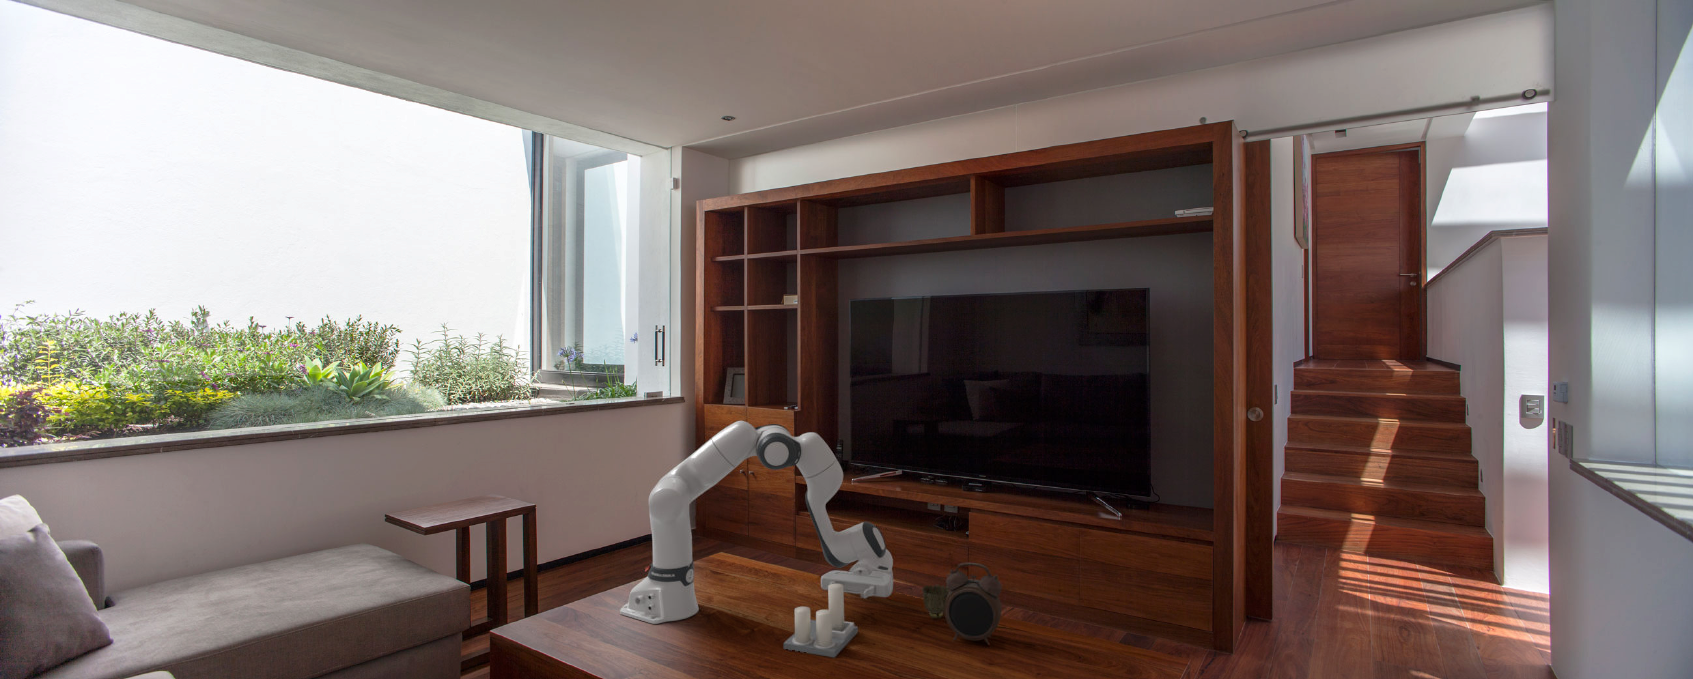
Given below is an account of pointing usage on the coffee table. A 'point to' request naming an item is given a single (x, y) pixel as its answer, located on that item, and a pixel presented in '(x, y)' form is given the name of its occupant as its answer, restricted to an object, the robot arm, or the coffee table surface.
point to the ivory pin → (836, 606)
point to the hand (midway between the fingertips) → (846, 593)
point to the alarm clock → (973, 604)
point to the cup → (935, 600)
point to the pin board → (820, 651)
